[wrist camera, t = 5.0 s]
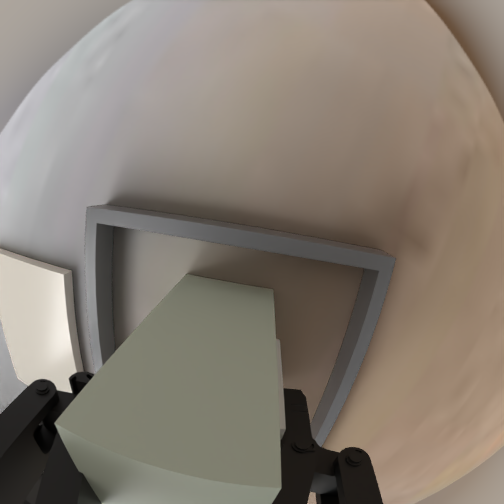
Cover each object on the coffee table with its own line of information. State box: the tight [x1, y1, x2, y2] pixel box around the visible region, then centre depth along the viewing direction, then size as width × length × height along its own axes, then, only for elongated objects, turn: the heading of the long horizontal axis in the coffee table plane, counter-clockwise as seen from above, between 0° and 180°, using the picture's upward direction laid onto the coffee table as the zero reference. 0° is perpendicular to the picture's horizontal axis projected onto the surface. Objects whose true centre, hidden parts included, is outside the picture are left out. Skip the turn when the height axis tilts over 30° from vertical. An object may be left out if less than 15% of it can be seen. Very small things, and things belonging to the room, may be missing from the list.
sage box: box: [55, 274, 281, 504], centre depth 11 cm, size 5×7×12 cm
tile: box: [0, 248, 84, 393], centre depth 17 cm, size 10×14×1 cm
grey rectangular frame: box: [85, 205, 396, 447], centre depth 16 cm, size 17×24×2 cm
